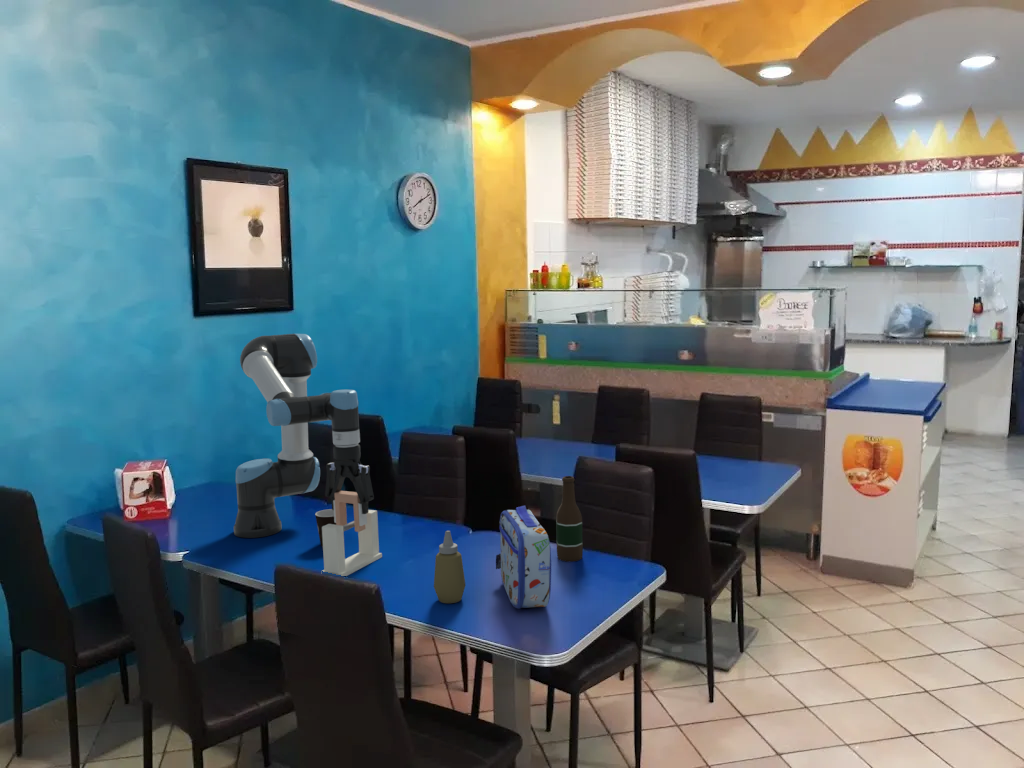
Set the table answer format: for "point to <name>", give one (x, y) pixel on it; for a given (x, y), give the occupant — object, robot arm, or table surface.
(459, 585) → the squeeze bottle
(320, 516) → the coffee mug
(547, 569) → the lunch box
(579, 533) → the beer bottle
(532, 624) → the table surface
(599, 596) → the table surface
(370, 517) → the rod bracket
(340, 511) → the arch
